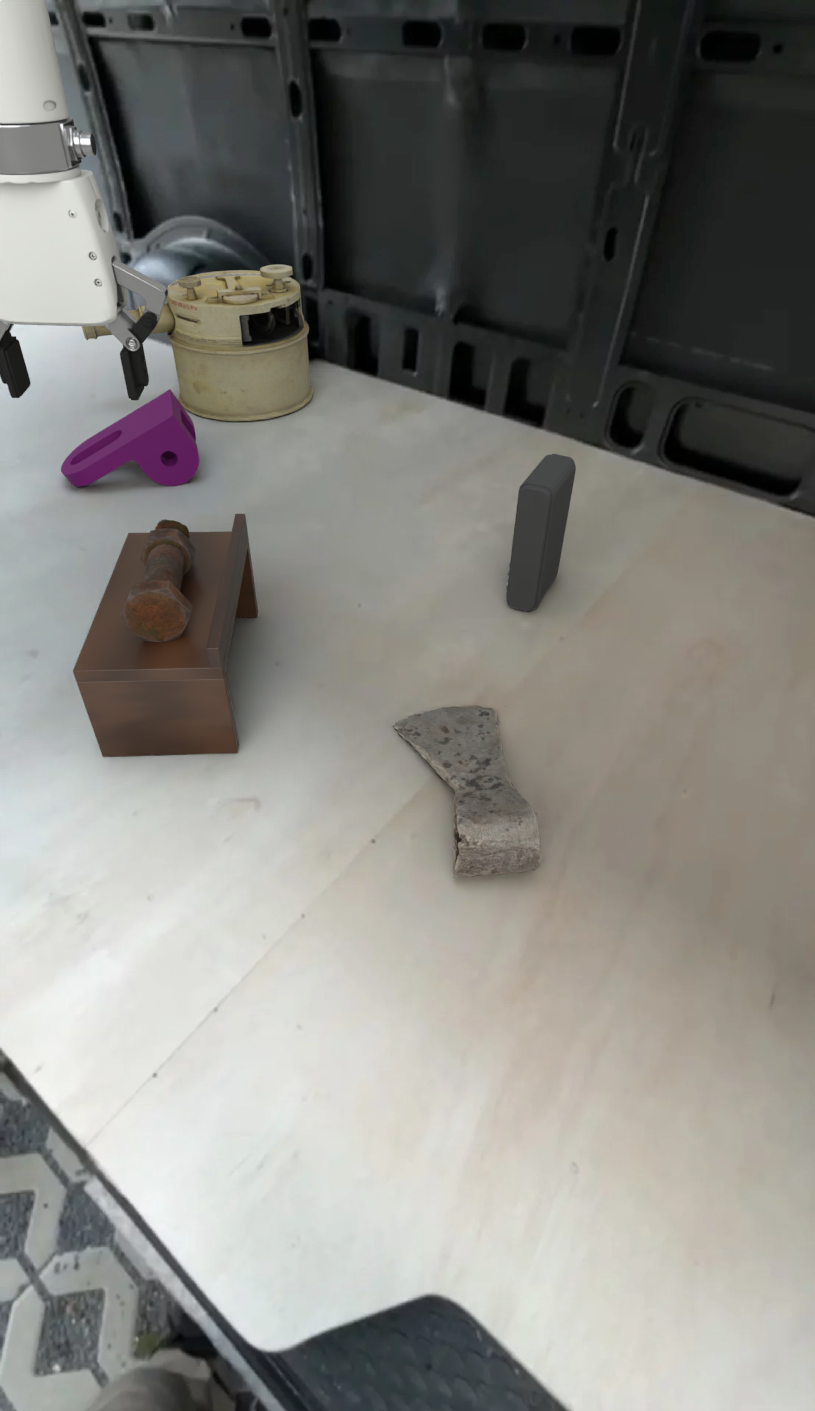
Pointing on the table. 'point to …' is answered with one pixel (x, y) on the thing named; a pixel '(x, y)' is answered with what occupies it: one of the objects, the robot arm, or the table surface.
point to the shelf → (169, 655)
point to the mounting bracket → (140, 445)
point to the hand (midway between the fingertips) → (79, 393)
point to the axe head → (477, 790)
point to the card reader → (539, 531)
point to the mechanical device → (236, 343)
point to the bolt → (161, 585)
